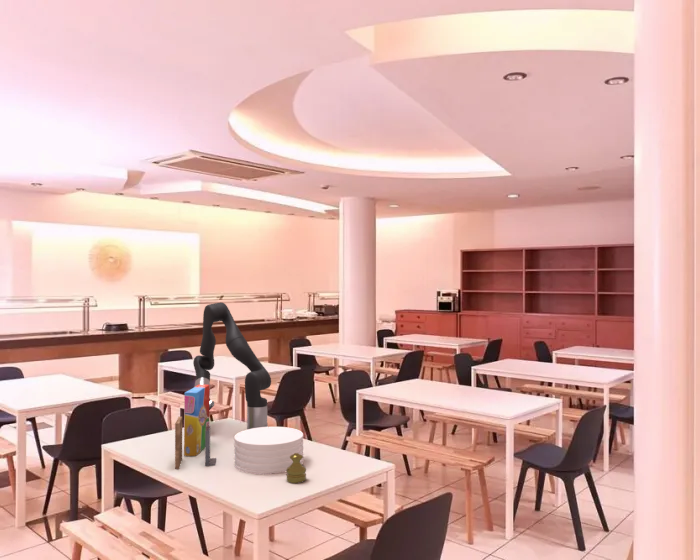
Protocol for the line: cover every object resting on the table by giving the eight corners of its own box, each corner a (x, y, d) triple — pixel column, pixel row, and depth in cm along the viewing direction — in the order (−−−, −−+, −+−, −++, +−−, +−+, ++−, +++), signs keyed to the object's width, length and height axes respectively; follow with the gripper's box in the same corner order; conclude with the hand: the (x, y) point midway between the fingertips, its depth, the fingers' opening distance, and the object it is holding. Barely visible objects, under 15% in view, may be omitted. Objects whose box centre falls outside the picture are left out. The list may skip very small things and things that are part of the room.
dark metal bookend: (216, 459, 234) (216, 425, 234) (215, 465, 225) (215, 430, 225) (206, 459, 233) (206, 426, 233) (205, 466, 224) (205, 431, 225)
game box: (196, 456, 237) (196, 392, 237) (183, 456, 237) (183, 392, 237) (209, 442, 258) (209, 384, 258) (197, 442, 258) (198, 384, 258)
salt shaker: (289, 484, 203) (289, 457, 203) (283, 478, 210) (283, 451, 210) (308, 482, 206) (308, 454, 206) (302, 475, 213) (302, 449, 213)
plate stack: (230, 456, 237) (230, 429, 238) (294, 450, 247) (294, 424, 247) (239, 477, 211) (239, 447, 211) (310, 469, 220) (310, 440, 220)
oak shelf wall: (182, 459, 233) (182, 416, 233) (179, 468, 221) (179, 423, 221) (178, 459, 233) (178, 416, 233) (175, 469, 221) (175, 423, 221)
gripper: (187, 385, 273) (185, 416, 261) (215, 384, 275) (214, 414, 263) (188, 394, 278) (186, 424, 266) (216, 393, 280) (214, 423, 268)
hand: (200, 419), depth 265 cm, fingers closed
